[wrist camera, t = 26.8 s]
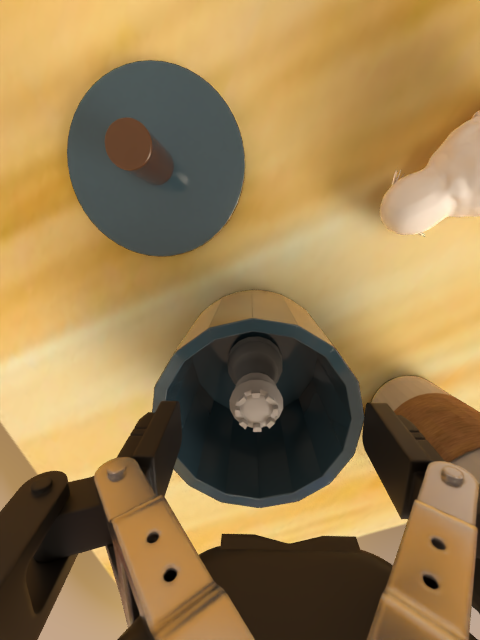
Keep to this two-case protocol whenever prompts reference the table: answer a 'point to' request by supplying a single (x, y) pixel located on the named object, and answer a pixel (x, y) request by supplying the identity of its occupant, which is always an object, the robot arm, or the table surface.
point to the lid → (156, 158)
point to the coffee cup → (439, 429)
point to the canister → (295, 419)
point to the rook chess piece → (255, 382)
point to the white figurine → (438, 185)
